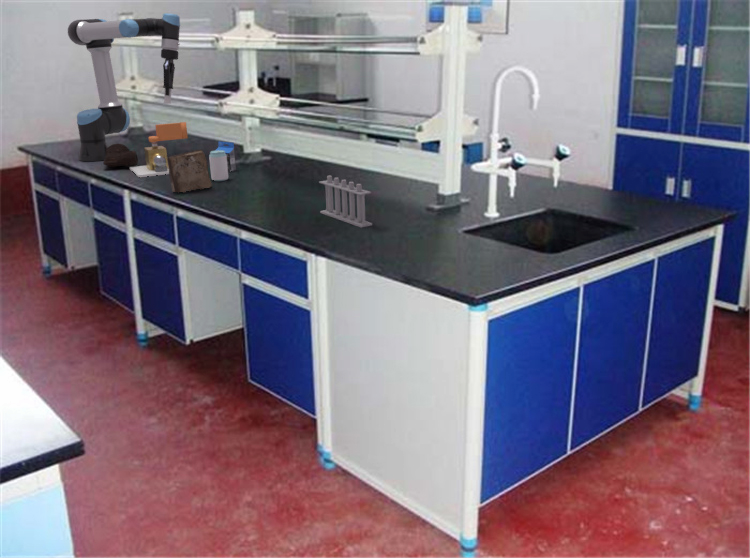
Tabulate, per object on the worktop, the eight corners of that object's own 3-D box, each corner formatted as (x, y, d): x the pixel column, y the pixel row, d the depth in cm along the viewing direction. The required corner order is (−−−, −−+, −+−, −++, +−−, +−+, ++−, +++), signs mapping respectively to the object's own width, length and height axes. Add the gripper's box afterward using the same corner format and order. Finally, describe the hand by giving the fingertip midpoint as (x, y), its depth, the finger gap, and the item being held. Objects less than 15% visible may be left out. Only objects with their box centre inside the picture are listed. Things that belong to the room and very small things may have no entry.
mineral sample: (209, 186, 312) (206, 148, 307) (214, 188, 309) (210, 150, 304) (169, 192, 303) (165, 154, 298) (173, 194, 300) (169, 155, 295)
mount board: (129, 169, 352) (129, 167, 351) (176, 164, 360) (175, 162, 360) (139, 177, 333) (138, 175, 333) (187, 172, 342) (187, 169, 341)
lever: (150, 142, 340) (148, 126, 338) (148, 141, 344) (146, 125, 342) (188, 138, 347) (187, 122, 345) (186, 137, 351) (184, 121, 349)
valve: (144, 165, 354) (140, 140, 350) (161, 163, 357) (158, 138, 353) (153, 172, 337) (149, 146, 333) (171, 170, 340) (168, 144, 336)
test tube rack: (372, 225, 250) (371, 185, 245) (361, 227, 247) (359, 187, 243) (331, 211, 269) (329, 173, 265) (320, 213, 267) (318, 175, 262)
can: (228, 177, 327) (226, 149, 323) (228, 181, 321) (225, 152, 317) (211, 178, 326) (209, 150, 322) (211, 182, 320) (208, 153, 316)
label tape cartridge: (214, 170, 343) (212, 142, 339) (220, 168, 347) (217, 141, 343) (231, 171, 339) (228, 143, 335) (236, 170, 343) (234, 142, 339)
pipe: (133, 150, 348) (136, 140, 361) (99, 154, 346) (103, 145, 359) (138, 170, 352) (141, 160, 365) (104, 175, 350) (108, 165, 364)
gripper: (175, 49, 344) (172, 103, 348) (181, 52, 357) (178, 104, 361) (158, 47, 344) (155, 101, 348) (164, 50, 357) (162, 102, 361)
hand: (167, 102), depth 355 cm, fingers closed
